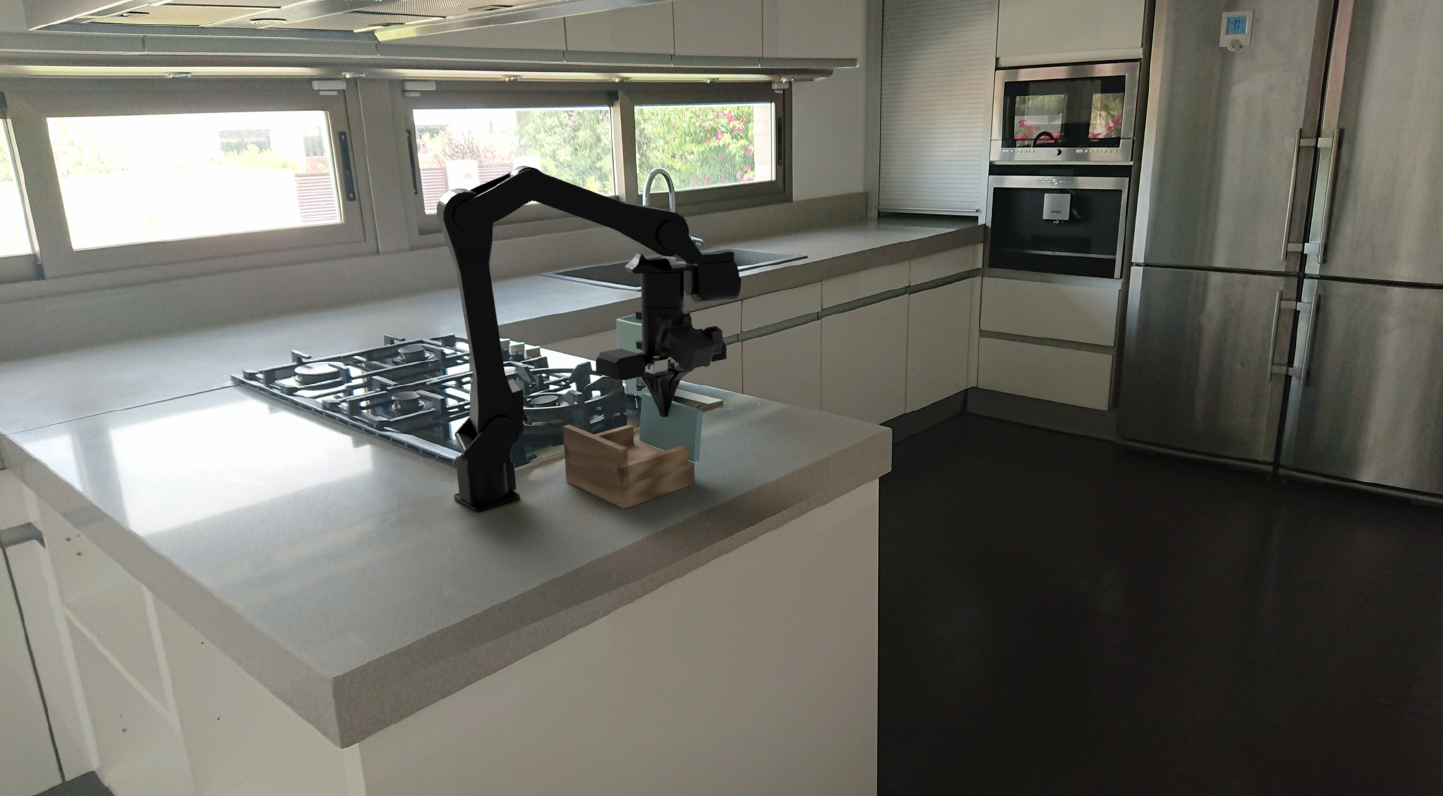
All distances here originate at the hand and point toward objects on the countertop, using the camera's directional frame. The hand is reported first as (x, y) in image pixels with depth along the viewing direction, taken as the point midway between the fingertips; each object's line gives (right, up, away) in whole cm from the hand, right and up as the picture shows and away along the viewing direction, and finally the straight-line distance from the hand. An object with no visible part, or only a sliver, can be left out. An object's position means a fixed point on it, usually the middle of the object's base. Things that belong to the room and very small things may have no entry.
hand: (664, 416), depth 131 cm
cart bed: (-4, -9, -2) cm, 10 cm away
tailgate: (0, -5, +2) cm, 5 cm away
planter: (-6, +3, +40) cm, 41 cm away
